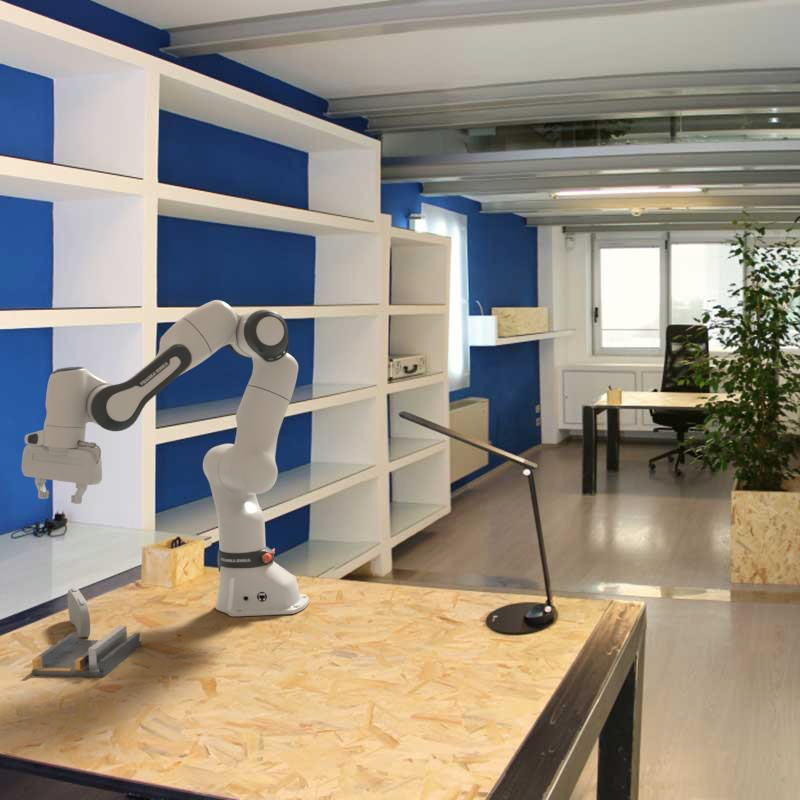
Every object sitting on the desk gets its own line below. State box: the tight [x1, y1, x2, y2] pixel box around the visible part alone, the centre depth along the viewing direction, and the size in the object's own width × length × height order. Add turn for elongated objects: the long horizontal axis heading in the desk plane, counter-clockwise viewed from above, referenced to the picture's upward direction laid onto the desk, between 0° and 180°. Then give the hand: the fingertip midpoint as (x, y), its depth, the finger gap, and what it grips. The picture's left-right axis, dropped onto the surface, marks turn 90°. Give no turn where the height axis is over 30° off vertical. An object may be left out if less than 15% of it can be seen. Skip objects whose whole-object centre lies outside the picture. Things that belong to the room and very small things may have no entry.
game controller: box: [67, 587, 91, 639], centre depth 233 cm, size 20×2×8 cm, turn 26°
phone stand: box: [31, 625, 142, 678], centre depth 211 cm, size 15×19×5 cm
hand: (59, 501), depth 228 cm, fingers open, 8 cm apart
